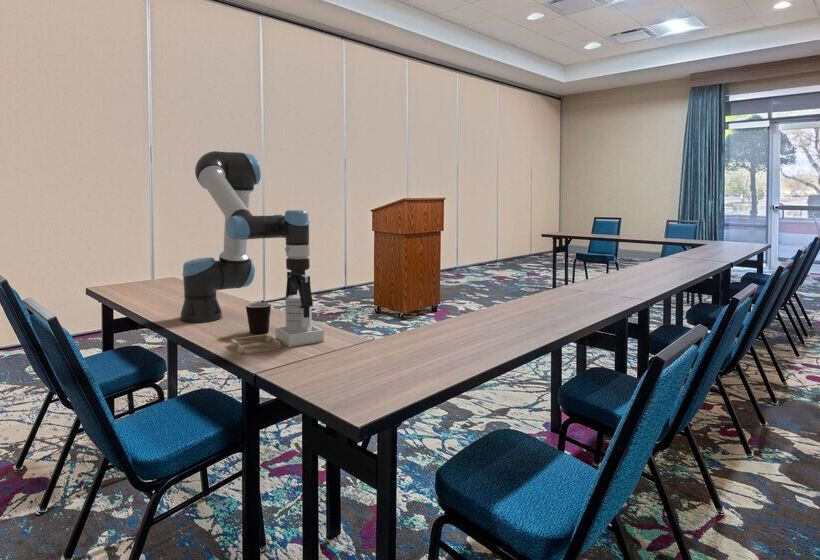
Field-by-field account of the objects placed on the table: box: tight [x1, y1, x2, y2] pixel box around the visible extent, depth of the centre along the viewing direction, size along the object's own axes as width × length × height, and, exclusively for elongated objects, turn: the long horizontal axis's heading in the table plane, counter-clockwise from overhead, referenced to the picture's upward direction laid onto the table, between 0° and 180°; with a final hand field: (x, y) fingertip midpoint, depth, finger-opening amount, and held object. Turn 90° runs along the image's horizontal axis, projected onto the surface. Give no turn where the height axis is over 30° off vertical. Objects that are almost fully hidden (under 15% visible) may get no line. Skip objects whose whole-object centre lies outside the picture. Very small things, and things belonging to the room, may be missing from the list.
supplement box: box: [284, 294, 313, 334], centre depth 180 cm, size 7×7×13 cm
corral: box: [230, 333, 282, 355], centre depth 173 cm, size 12×12×2 cm
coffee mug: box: [245, 302, 272, 336], centre depth 191 cm, size 12×9×10 cm
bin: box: [274, 324, 325, 348], centre depth 181 cm, size 12×12×4 cm
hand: (299, 323), depth 180 cm, fingers closed on supplement box, 10 cm apart
